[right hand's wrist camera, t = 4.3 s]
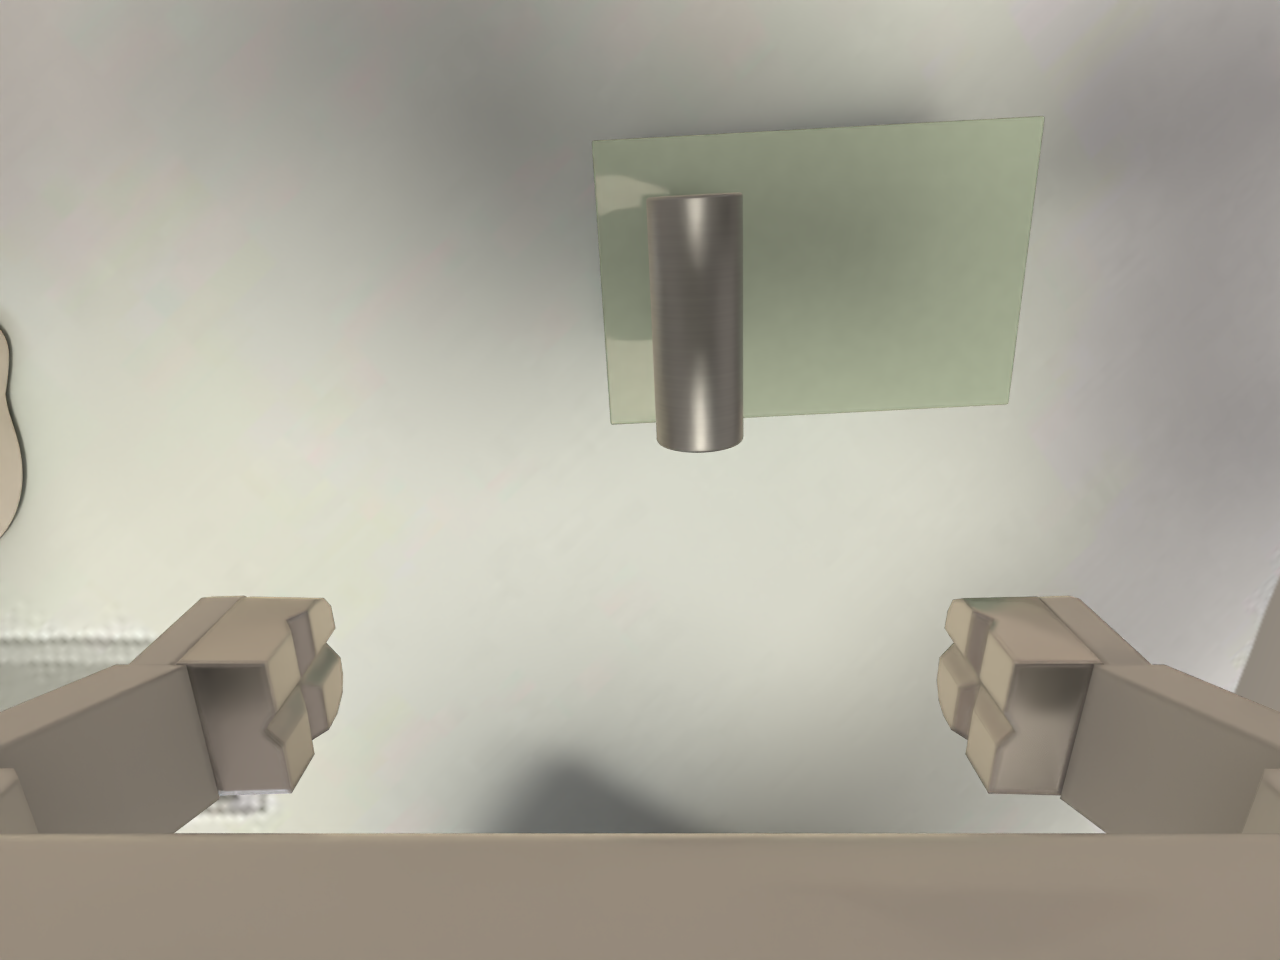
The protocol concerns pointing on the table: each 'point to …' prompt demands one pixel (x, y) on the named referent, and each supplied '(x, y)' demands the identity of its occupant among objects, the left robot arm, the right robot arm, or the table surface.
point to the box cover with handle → (811, 271)
